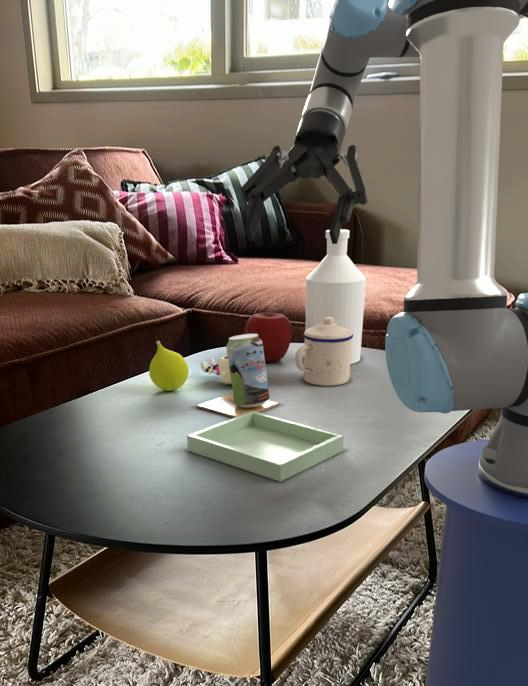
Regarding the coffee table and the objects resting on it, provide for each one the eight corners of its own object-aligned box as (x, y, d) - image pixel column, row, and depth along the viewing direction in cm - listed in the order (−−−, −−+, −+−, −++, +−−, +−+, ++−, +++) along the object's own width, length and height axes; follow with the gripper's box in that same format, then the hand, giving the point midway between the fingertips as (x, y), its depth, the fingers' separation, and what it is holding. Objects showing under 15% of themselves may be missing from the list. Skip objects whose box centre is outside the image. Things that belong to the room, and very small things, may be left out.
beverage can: (260, 413, 126) (260, 341, 121) (221, 407, 129) (219, 336, 123) (275, 402, 131) (276, 332, 126) (237, 397, 134) (236, 328, 129)
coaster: (279, 404, 131) (279, 402, 131) (240, 419, 124) (240, 417, 124) (236, 393, 137) (236, 391, 137) (197, 407, 130) (197, 405, 130)
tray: (343, 450, 111) (343, 435, 110) (280, 481, 102) (280, 465, 101) (252, 425, 122) (252, 410, 121) (187, 450, 112) (186, 435, 111)
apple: (288, 354, 162) (289, 306, 157) (294, 366, 153) (295, 316, 149) (244, 355, 161) (243, 307, 157) (247, 367, 153) (246, 317, 148)
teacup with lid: (328, 370, 150) (331, 310, 145) (360, 381, 143) (364, 318, 138) (280, 381, 144) (281, 318, 139) (311, 392, 137) (313, 327, 132)
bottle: (354, 350, 164) (361, 226, 153) (367, 364, 153) (375, 233, 142) (300, 352, 163) (302, 228, 152) (308, 366, 153) (312, 234, 142)
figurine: (217, 348, 148) (265, 347, 140) (222, 380, 150) (269, 380, 143) (191, 356, 143) (239, 355, 135) (196, 388, 145) (244, 389, 138)
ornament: (148, 386, 142) (144, 332, 138) (185, 382, 144) (182, 329, 139) (153, 397, 136) (149, 341, 131) (192, 393, 137) (190, 338, 133)
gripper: (402, 144, 121) (373, 255, 115) (256, 146, 130) (223, 249, 124) (397, 105, 114) (366, 221, 109) (244, 110, 123) (208, 217, 117)
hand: (290, 236), depth 116 cm, fingers open, 13 cm apart
